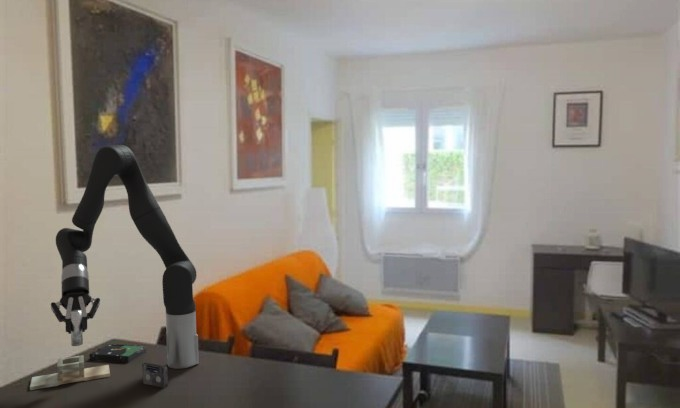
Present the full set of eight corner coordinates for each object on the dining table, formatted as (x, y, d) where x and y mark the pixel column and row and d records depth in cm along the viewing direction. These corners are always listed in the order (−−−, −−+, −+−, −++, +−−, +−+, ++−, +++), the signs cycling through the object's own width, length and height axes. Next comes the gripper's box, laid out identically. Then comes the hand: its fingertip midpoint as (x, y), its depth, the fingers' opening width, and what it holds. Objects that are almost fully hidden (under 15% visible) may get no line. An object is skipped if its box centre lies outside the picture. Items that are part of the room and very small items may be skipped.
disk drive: (89, 362, 170) (129, 364, 168) (88, 353, 170) (128, 355, 168) (108, 351, 181) (146, 353, 178) (108, 343, 180) (146, 345, 178)
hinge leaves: (108, 367, 164) (108, 350, 163) (110, 376, 156) (109, 358, 156) (32, 380, 154) (31, 362, 154) (30, 390, 147) (29, 371, 147)
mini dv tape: (167, 386, 149) (167, 366, 149) (164, 388, 148) (163, 367, 147) (146, 381, 152) (146, 361, 152) (143, 383, 151) (142, 363, 151)
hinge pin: (82, 342, 153) (81, 309, 152) (82, 345, 150) (81, 311, 149) (71, 343, 151) (70, 310, 151) (71, 346, 149) (70, 312, 148)
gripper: (48, 277, 153) (48, 328, 143) (100, 273, 159) (103, 321, 149) (49, 291, 158) (49, 341, 148) (100, 286, 164) (103, 334, 154)
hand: (76, 331), depth 149 cm, fingers closed on hinge pin, 3 cm apart
